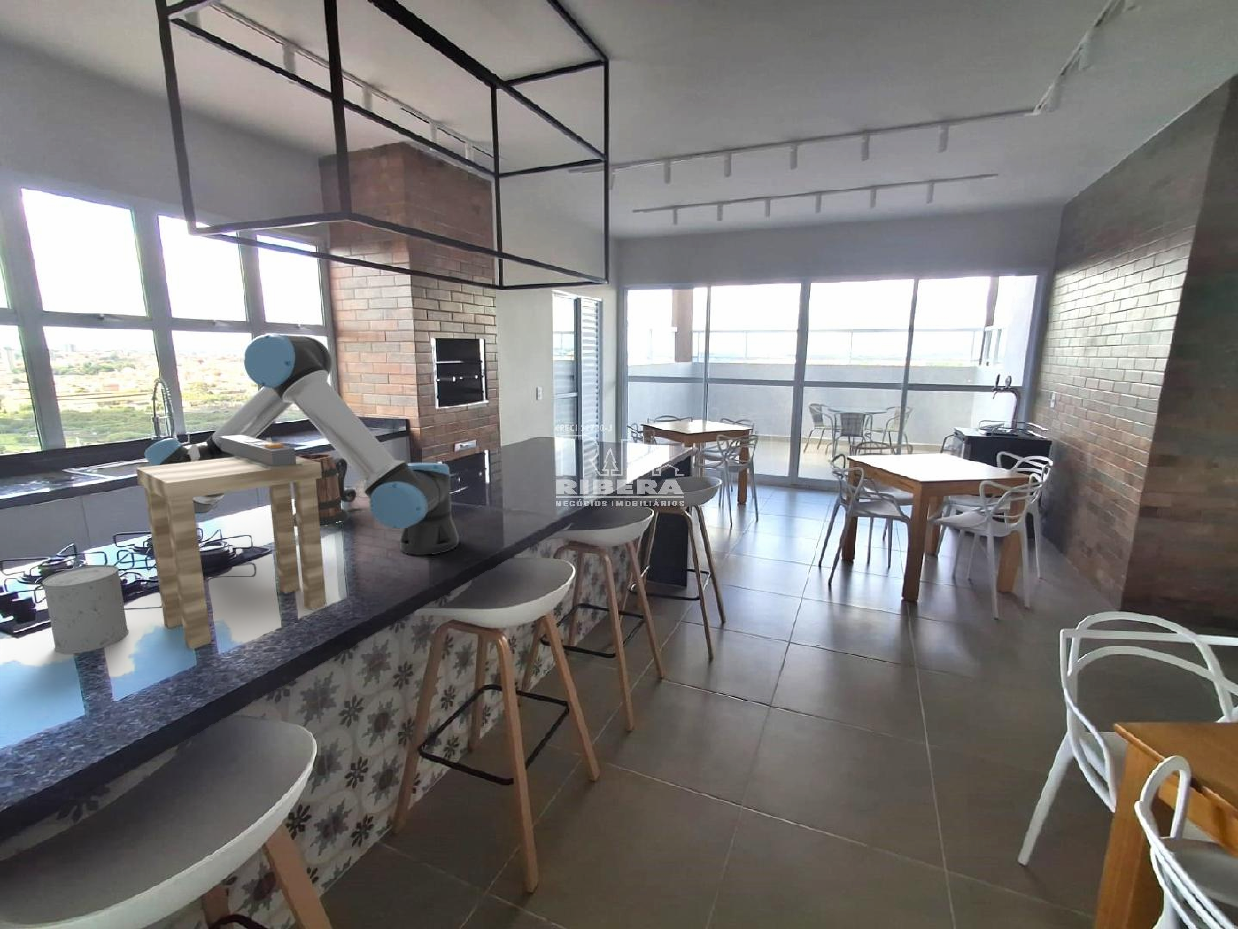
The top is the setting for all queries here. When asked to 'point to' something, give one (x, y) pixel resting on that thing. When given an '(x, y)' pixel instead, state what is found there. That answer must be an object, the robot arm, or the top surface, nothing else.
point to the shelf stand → (179, 538)
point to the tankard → (330, 489)
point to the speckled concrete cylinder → (85, 608)
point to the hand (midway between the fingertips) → (235, 446)
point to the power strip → (258, 450)
